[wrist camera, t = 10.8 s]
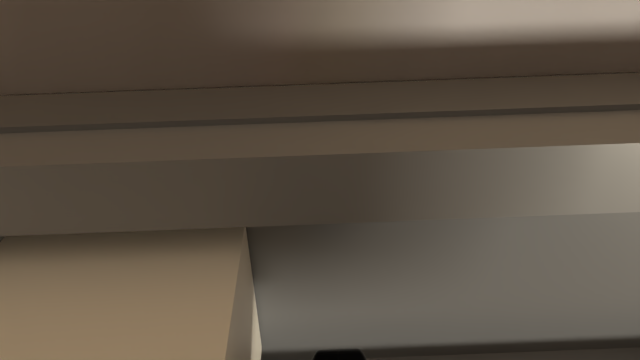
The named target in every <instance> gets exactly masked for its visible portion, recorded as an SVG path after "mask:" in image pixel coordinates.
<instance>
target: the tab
mask: <svg viewBox="0 0 640 360" xmlns="http://www.w3.org/2000/svg"><path fill="white" fill-rule="evenodd" d="M261 350H262V345H261V338H260V330H259V323H258V315H257V308H256V300H255V292H254V285H253V277H252V270H251V262H250V255H249V247H248V240H247V232H246V227H234V228H208V229H182V230H156V231H130V232H104V233H78V234H51V235H25V236H5V237H4V238H3V239H2V241H1V242H0V360H261Z"/></svg>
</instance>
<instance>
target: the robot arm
mask: <svg viewBox="0 0 640 360" xmlns="http://www.w3.org/2000/svg"><path fill="white" fill-rule="evenodd" d="M312 360H367V358H366V357H365V355H364V353H363V352H362V351H361V350H360V349H357V348H355V349H327V350H318V351H316V353H315V354H314V356H313V359H312Z"/></svg>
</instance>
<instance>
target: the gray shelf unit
mask: <svg viewBox="0 0 640 360" xmlns="http://www.w3.org/2000/svg"><path fill="white" fill-rule="evenodd" d="M234 227H246V232H247V240H248V247H249V255H250V262H251V270H252V277H253V285H254V292H255V300H256V308H257V315H258V323H259V330H260V338H261V345H262V350H261V360H312V359H313V356H314V354H315V353H316V351H318V350H327V349H355V348H357V349H360V350H361V351H362V352H363V353H364V355H365V357H366V358H367V360H640V73H614V74H586V75H559V76H531V77H503V78H476V79H448V80H421V81H393V82H366V83H338V84H311V85H283V86H256V87H228V88H201V89H173V90H146V91H118V92H91V93H63V94H36V95H8V96H0V242H1V241H2V239H3V238H4V237H5V236H25V235H51V234H78V233H104V232H130V231H156V230H182V229H208V228H234Z"/></svg>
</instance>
